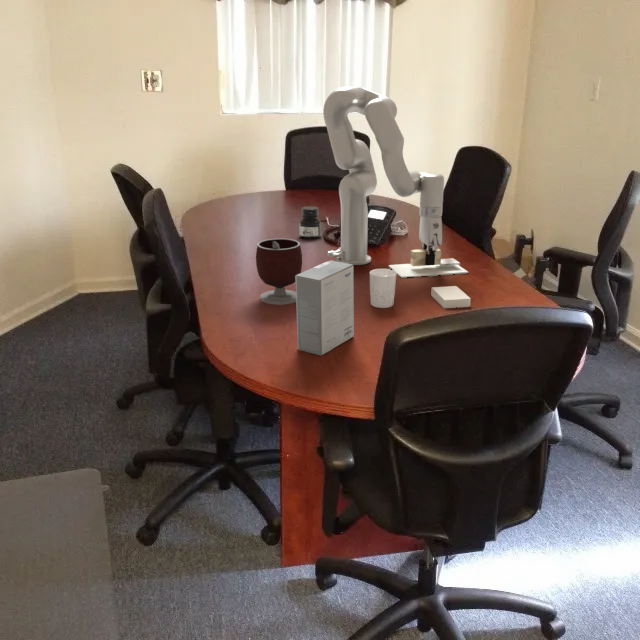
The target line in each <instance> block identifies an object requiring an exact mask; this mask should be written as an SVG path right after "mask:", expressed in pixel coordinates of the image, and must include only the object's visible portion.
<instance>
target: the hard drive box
mask: <svg viewBox="0 0 640 640" xmlns="http://www.w3.org/2000/svg"><path fill="white" fill-rule="evenodd" d="M295 279H296V282H295V292H296V302H295V303H296V306H295V307H296V331H297V333H296V334H297V336H296V337H297V350H299V351H303V352H306V353H309V354H312V355H313V354H314V355H316V356H320V357H321V356H323V355H325V354H326V353H328V352H330V351H331V350H333V349H335V348H336V347H338V346H339V345H341V344H343V343H345V342H346V341H348V340H350V339H351V338H353V337H354V336H355V325H354V324H355V322H354V319H355V315H354V314H355V313H354V311H355V310H354V309H355V308H354V307H355V306H354V303H355V302H354V299H355V298H354V296H355V295H354V293H355V291H354V286H355V285H354V265H353V264H348V263H343V262H337V260H327V261H325V262H322V263H321V264H318V265H316V266H314V267H312V268H309V269H307V270H304V271H303V272H302V271H301V273H300V274H298V275H296V276H295Z"/></svg>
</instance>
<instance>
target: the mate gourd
mask: <svg viewBox="0 0 640 640" xmlns="http://www.w3.org/2000/svg"><path fill="white" fill-rule="evenodd" d="M255 265H256V270H257V274H258V276H259V278H260V280H261V281H262V282H263V283H264V284H265V285H268V286H271V287H274V288H275V289H272V290H267V291H265V292H263V293H261V294H260V296H259V298H260V299H261V300H260V301H261V302H263V303H265V304H267V305H268V304H269V305H277V306H278V305H290V304H293V303H296V290H292V289H291V290H290V289H285V287H288V286H291V285H293V284H296V279H295V276H296V275H298V274H300V273H302V266H303V253H302V247H301V242H299V240H296V239H291V238H269V239H263V240H261V241H258V242H257V244H256V253H255Z"/></svg>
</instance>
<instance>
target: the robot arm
mask: <svg viewBox="0 0 640 640" xmlns="http://www.w3.org/2000/svg"><path fill="white" fill-rule="evenodd" d="M322 109H323V119H324V124H325V127H326V129H327V135H328V137H329V138H328V139H329V142H330V147H331V150H332V154H333V159H334V161H335V164H336V166H337V167H338V168H339V169H341V170H343V171H345V170H348V172H349V173H348V174H347V175H345V176H343V178H342V179H341V180H340V183H339V185H338V195H339V202H340V247H338V249H335V250H327V257H332V258H336V260H335V261H337V262H343V263H348V264H353V266H361V265H362V266H364V265H366V264H369V263H371V262H372V257H371V256H370V255H368V225H369V224H368V221H369V220H368V219H369V218H368V217H369V216H368V215H369V213H368V212H369V210H368V203H367V197H368V196H370V195H372V193H374V192H375V191H376V188H377V185H378V180H377V174H376V171H375V166H374V163H373V158H372V155H371V151H370V149H369V147H368V145H367V144H366V143H365V142H364V141H362V140H360V139H357V138H356V136H355V134H354V128H353V126H352V123H351V121H350V119H349V117H348V115H349V114H350V113H358V114H360V115H363V116H364V117H365V119H366V121H367V124H368V126H369V128H370V130H371V132H372V135H373V137H374V139H375V141H376V144H377V145H378V147H379V150H380V154H381V160H382V166H383V170H384V173H385V175H386V178H387V180H388V182H389V185H390V186H391V188H392V189H393V192H395V194H396V195H397V196H399V197H401V198H408V197H411V196H413V195H414V194H419V193H420V195H419V197H420V198H419V199H420V200H419V214H418V215H419V216H420V218H419V219H420V220H419V228H418V230H419V231H418V239H419V241H421V249H427V254H426V260H425V265H426V266H428V265H434V264H435V254H436V250H438V249H439V247H440V246H441V245H442V242H443V241H442V239H443V224H442V223H443V222H442V221H443V220H442V216H443V203H444V188H445V177H444V175H443V174H441V173H436V172H433V173H432V172H429V173H427V172H422V171H419V170H408V167H407V165H406V162H405V159H404V152H403V150H404V145H405V138H404V136H403V133H402V132H401V129H400V127H399V125H398V123H397V121H396V117H397V115H398V114H397V113H398V108H397V105H396V102H395V101H393V99H391V98H390V97H388V96H385V95H382V94H380V93H378V92H375V91H373V90H370V89H368V88H365V87H363V86H360V85H352V86H350V85H349V86H342V87H339V88H337V89H335V90H333V91H332V92H331V93H330V94H329V95H328V96H327V98H326V99H325V101H324V104H323V108H322Z"/></svg>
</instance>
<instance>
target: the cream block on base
mask: <svg viewBox="0 0 640 640" xmlns="http://www.w3.org/2000/svg"><path fill="white" fill-rule="evenodd" d="M426 254H427V249H422V248H421V249H410V261H409V264H411V265H412V266H426V265H425V260H426ZM434 265H440V266H446V265H459V266H461V262H459V261H458V260H457V259H455V258H452V257H451V258H442V250H441V249H440V248H438V250H436V254H435V264H434Z"/></svg>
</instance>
